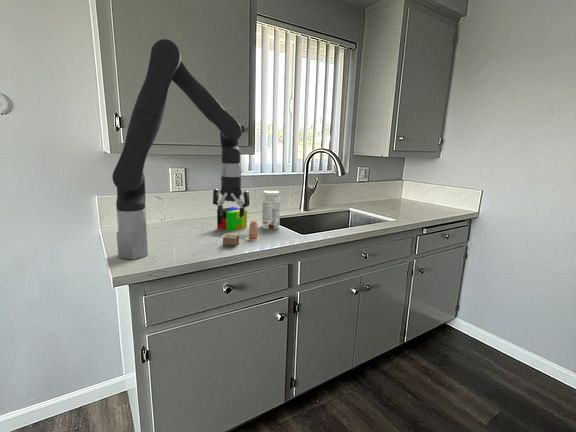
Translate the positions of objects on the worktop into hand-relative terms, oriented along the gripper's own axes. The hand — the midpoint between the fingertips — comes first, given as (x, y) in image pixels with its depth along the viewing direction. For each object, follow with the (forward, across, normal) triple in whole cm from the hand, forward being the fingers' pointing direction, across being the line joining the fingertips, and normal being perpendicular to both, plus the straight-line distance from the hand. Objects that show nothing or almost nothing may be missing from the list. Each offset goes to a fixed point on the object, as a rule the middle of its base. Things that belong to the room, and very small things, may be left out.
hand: (231, 216), depth 129 cm
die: (+13, 0, 0) cm, 13 cm away
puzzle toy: (+13, -10, +26) cm, 31 cm away
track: (+13, -3, +12) cm, 18 cm away
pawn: (+12, +5, +12) cm, 18 cm away
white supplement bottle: (+13, +7, +33) cm, 37 cm away
